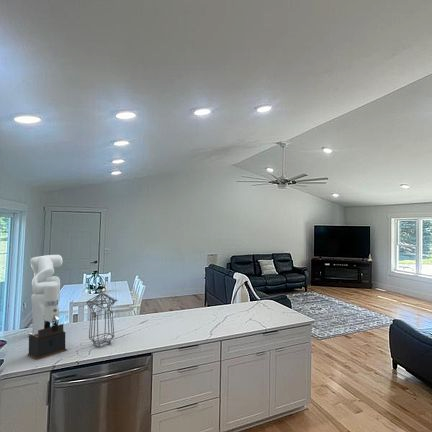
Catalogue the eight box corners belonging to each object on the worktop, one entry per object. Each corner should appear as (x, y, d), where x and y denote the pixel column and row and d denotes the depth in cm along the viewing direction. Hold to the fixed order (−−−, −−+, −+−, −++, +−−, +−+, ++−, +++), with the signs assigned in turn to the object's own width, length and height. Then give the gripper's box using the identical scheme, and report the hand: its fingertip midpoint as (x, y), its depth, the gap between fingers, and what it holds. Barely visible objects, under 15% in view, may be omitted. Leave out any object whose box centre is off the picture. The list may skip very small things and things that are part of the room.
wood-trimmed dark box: (27, 355, 208) (27, 336, 208) (56, 346, 222) (56, 328, 222) (38, 360, 201) (38, 340, 201) (67, 350, 215) (67, 332, 215)
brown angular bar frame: (63, 332, 215) (63, 324, 215) (38, 339, 203) (38, 330, 203) (53, 328, 222) (53, 321, 222) (28, 335, 210) (28, 327, 210)
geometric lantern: (93, 350, 215) (93, 297, 215) (84, 344, 225) (85, 293, 226) (118, 343, 227) (118, 292, 227) (109, 338, 237) (109, 289, 238)
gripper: (64, 303, 209) (64, 330, 209) (50, 300, 217) (50, 326, 217) (51, 306, 202) (51, 334, 202) (37, 302, 211) (37, 329, 211)
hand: (51, 330), depth 210 cm, fingers open, 9 cm apart
